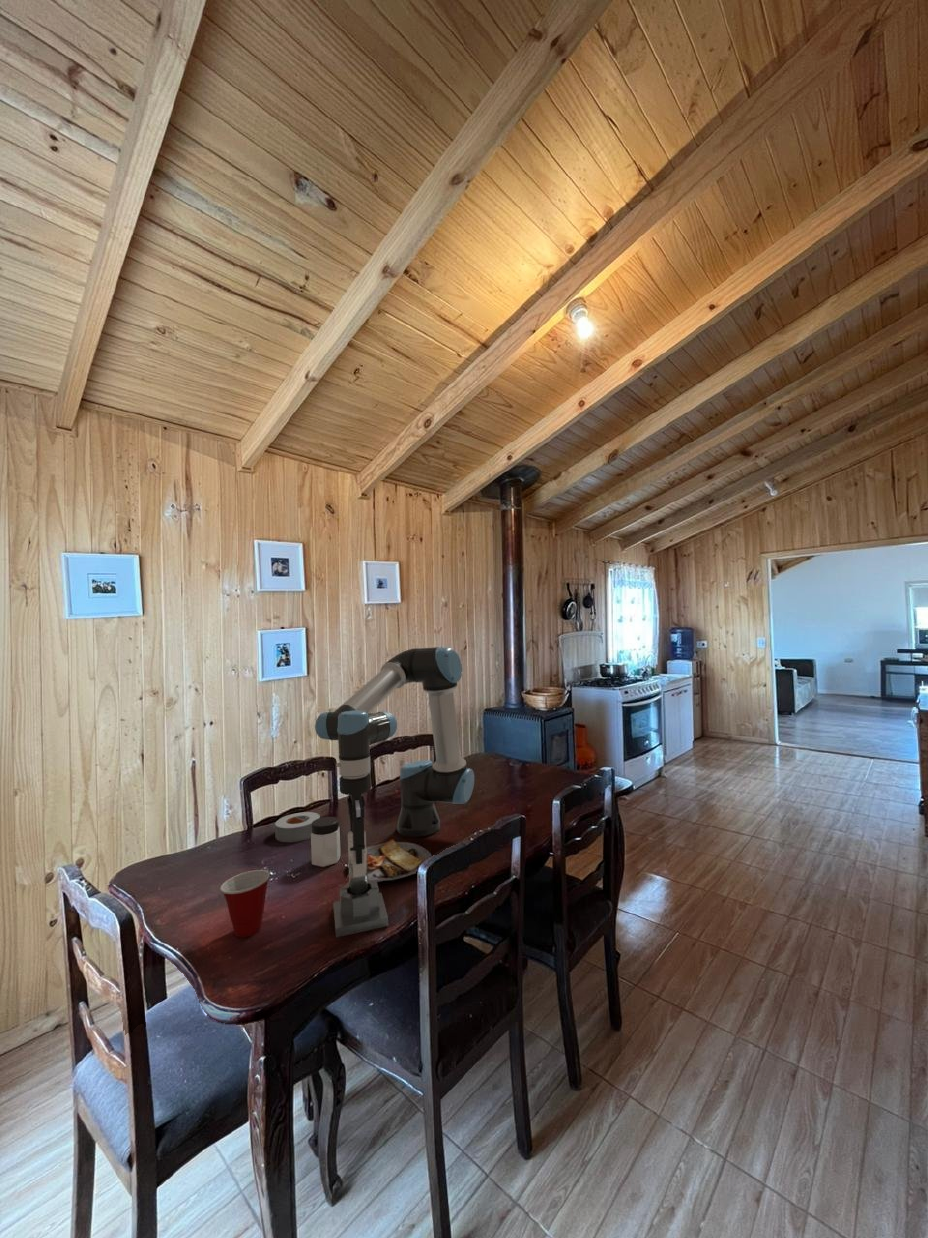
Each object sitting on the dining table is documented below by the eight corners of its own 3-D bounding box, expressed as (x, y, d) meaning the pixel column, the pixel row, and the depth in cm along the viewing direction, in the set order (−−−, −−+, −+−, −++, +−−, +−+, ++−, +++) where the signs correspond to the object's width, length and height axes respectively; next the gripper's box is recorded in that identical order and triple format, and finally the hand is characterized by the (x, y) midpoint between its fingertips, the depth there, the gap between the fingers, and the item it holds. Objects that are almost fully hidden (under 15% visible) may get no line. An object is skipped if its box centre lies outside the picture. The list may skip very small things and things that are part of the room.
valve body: (379, 892, 130) (378, 865, 130) (388, 926, 114) (387, 895, 115) (333, 901, 126) (332, 874, 127) (335, 937, 111) (334, 906, 111)
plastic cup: (240, 916, 122) (238, 867, 122) (280, 918, 120) (278, 868, 120) (211, 943, 111) (209, 889, 111) (254, 946, 109) (252, 891, 110)
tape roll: (265, 841, 169) (265, 826, 169) (293, 824, 183) (292, 810, 183) (303, 844, 164) (303, 829, 164) (328, 827, 179) (328, 813, 179)
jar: (315, 869, 145) (314, 829, 145) (308, 860, 151) (306, 821, 152) (344, 861, 150) (343, 821, 150) (336, 852, 156) (334, 814, 157)
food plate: (336, 862, 149) (336, 850, 149) (403, 841, 162) (403, 831, 163) (372, 897, 129) (372, 884, 129) (445, 870, 142) (445, 858, 142)
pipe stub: (366, 885, 121) (365, 828, 122) (368, 893, 117) (366, 834, 118) (348, 888, 120) (347, 831, 121) (350, 897, 116) (348, 837, 116)
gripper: (337, 768, 127) (340, 859, 126) (341, 786, 110) (344, 891, 109) (366, 764, 129) (369, 854, 128) (374, 782, 113) (378, 885, 112)
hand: (358, 871), depth 119 cm, fingers closed on pipe stub, 4 cm apart
